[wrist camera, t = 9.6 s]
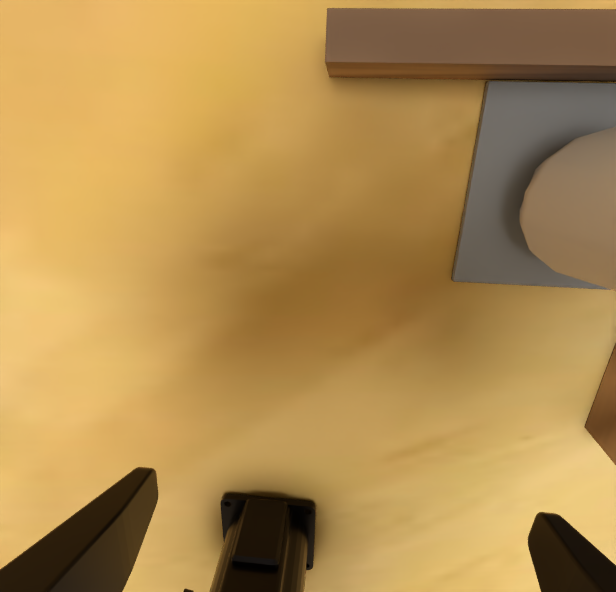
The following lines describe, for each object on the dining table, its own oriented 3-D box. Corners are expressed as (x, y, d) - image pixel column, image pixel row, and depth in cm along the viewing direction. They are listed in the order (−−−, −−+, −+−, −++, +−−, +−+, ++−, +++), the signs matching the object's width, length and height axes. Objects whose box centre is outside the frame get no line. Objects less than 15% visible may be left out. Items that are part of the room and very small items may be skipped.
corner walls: (611, 429, 22) (663, 487, 19) (316, 406, 24) (311, 456, 20) (771, 40, 15) (907, 10, 11) (331, 36, 16) (327, 8, 13)
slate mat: (634, 288, 19) (640, 291, 19) (451, 278, 20) (453, 281, 20) (709, 86, 16) (718, 85, 16) (486, 82, 17) (489, 81, 16)
